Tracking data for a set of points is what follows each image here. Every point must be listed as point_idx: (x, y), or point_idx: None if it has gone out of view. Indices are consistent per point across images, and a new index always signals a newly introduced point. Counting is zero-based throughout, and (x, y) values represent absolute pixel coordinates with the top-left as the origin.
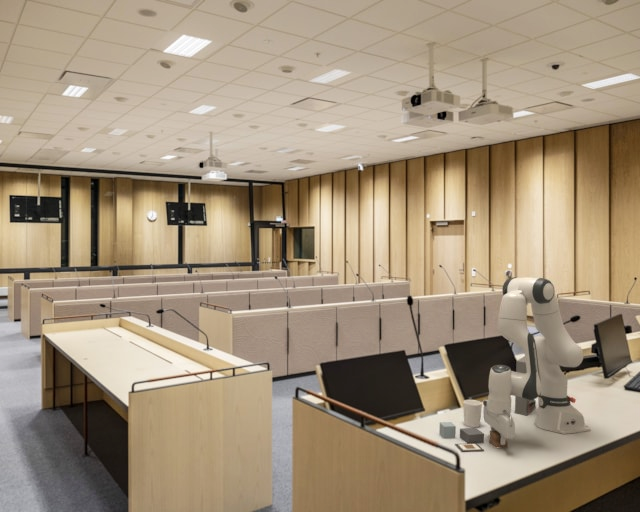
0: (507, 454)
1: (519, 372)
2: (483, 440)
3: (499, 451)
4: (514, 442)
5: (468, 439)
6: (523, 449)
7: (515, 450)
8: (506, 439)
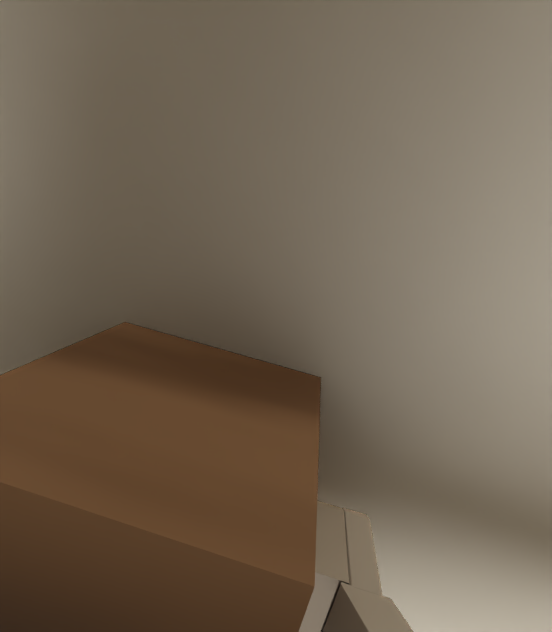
0: (544, 568)
1: None
2: None
3: (402, 582)
4: (179, 84)
5: None
6: (526, 158)
7: (486, 344)
8: (310, 484)
